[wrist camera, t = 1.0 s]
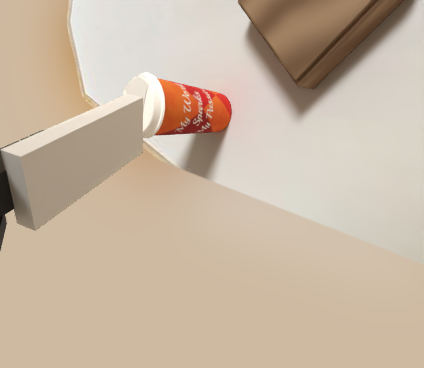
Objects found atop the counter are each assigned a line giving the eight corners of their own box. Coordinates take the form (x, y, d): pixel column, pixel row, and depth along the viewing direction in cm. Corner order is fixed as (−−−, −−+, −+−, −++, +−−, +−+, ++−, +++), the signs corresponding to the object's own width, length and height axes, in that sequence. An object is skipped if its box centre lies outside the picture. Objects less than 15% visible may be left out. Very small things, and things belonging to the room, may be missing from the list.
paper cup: (237, 139, 49) (155, 138, 39) (199, 138, 54) (120, 138, 44) (237, 82, 48) (155, 66, 38) (199, 87, 53) (118, 75, 43)
